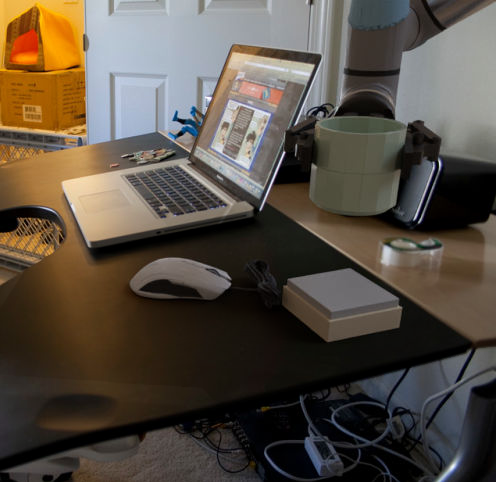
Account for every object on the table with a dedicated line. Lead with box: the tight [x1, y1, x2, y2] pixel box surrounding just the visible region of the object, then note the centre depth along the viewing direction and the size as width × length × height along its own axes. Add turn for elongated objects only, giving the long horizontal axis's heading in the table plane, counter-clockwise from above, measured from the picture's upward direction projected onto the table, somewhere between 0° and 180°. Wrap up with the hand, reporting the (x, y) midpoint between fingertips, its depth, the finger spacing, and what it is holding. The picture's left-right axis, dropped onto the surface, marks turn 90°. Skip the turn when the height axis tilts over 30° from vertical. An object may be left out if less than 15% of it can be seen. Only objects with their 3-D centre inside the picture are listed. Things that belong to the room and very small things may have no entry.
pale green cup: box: [308, 116, 408, 217], centre depth 70 cm, size 9×9×9 cm
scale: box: [281, 267, 403, 343], centre depth 71 cm, size 9×9×4 cm
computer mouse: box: [129, 257, 282, 310], centre depth 78 cm, size 10×18×4 cm, turn 80°
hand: (354, 162), depth 65 cm, fingers closed on pale green cup, 9 cm apart
